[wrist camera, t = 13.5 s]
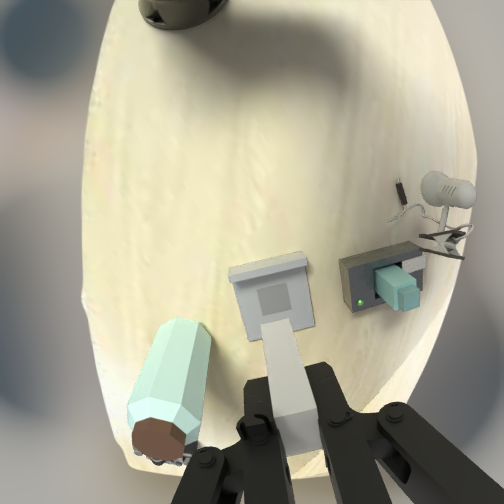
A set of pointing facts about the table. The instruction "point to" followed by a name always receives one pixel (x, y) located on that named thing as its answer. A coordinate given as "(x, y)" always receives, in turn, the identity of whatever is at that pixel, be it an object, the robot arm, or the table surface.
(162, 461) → the camera
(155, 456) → the water bottle
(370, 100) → the table surface
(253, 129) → the table surface
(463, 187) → the clip-on lamp
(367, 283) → the port
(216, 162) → the table surface
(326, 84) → the table surface
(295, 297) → the grey lipped plate
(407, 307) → the plug
